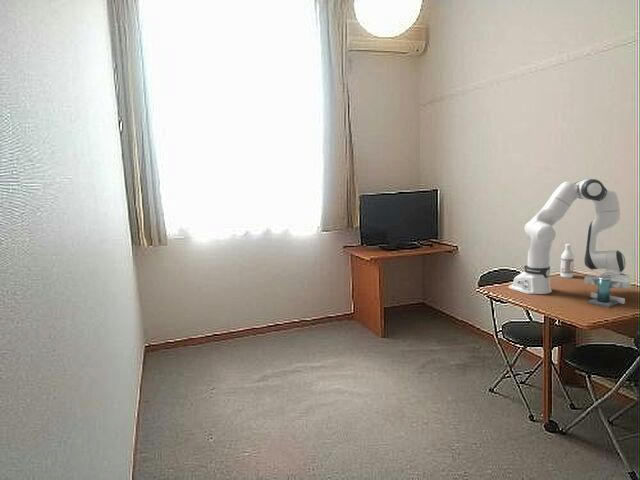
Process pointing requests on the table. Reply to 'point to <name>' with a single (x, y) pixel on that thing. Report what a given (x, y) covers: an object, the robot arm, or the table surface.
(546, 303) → the table surface
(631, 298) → the table surface
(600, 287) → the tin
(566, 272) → the bath foam
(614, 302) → the coaster
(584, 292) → the table surface
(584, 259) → the robot arm
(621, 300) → the wall
